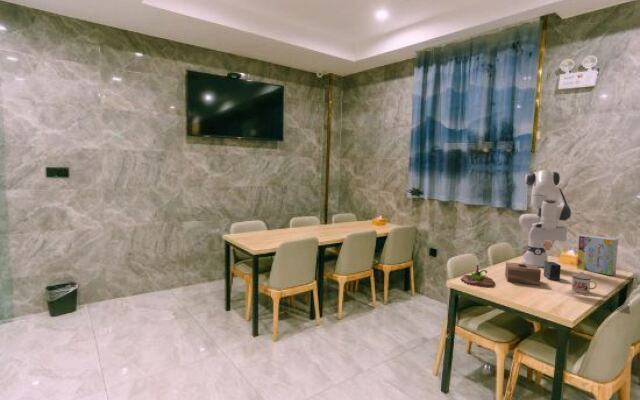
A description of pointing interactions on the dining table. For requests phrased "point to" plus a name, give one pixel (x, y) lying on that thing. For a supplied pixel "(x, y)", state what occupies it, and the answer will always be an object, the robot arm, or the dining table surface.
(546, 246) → the orange block
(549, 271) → the small box
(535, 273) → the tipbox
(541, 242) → the robot arm
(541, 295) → the dining table surface
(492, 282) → the plant
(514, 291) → the dining table surface
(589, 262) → the snack box
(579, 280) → the teacup with lid
